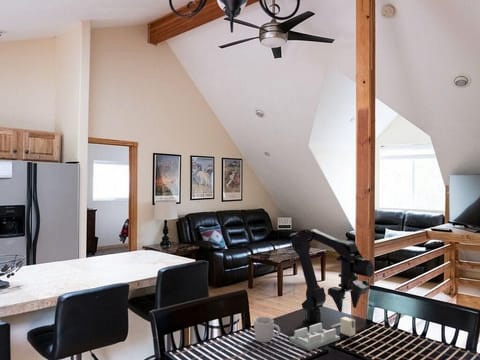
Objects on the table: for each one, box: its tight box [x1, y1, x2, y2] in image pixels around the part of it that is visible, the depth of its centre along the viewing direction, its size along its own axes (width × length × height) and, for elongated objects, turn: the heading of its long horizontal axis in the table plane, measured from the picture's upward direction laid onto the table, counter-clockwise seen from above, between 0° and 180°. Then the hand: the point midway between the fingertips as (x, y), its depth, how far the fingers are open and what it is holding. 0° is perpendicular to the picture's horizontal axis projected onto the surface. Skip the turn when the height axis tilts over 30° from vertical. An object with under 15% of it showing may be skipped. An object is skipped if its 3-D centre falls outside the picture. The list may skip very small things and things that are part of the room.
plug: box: [340, 316, 356, 337], centre depth 159 cm, size 6×3×6 cm, turn 36°
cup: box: [253, 316, 281, 343], centre depth 152 cm, size 11×8×8 cm
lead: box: [329, 322, 341, 329], centre depth 168 cm, size 8×1×1 cm, turn 126°
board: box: [289, 322, 341, 351], centre depth 153 cm, size 11×17×4 cm, turn 126°
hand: (347, 309), depth 159 cm, fingers open, 9 cm apart
